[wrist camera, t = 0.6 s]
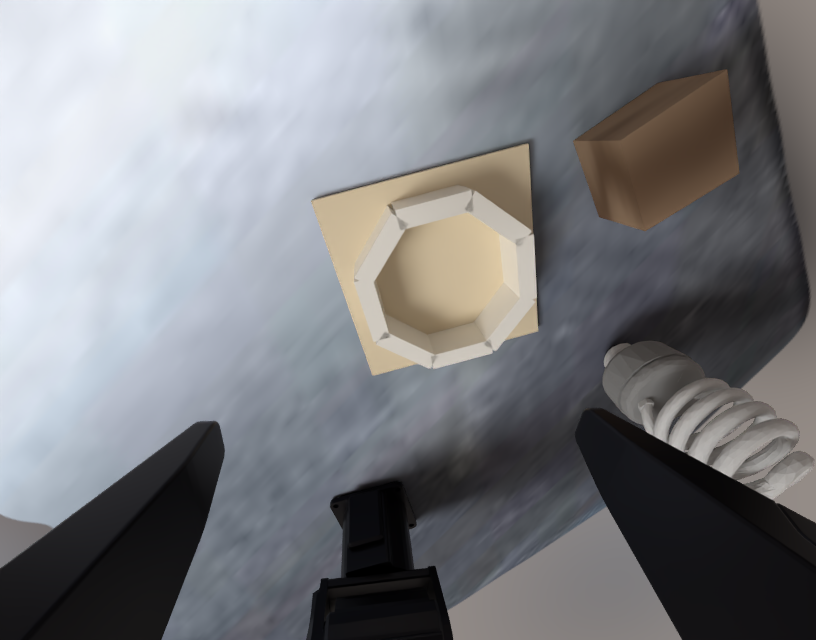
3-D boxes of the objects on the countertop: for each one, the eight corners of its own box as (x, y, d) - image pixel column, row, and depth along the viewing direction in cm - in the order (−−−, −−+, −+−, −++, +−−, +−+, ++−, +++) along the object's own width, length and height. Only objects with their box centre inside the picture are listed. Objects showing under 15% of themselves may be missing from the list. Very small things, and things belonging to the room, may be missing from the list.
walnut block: (673, 168, 20) (739, 173, 17) (597, 216, 21) (645, 231, 18) (656, 83, 18) (727, 69, 15) (571, 141, 19) (620, 140, 16)
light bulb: (581, 390, 28) (719, 542, 17) (572, 336, 25) (729, 476, 15) (647, 364, 27) (830, 503, 17) (646, 307, 25) (861, 429, 14)
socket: (534, 327, 24) (556, 350, 22) (372, 371, 24) (374, 399, 22) (524, 143, 19) (552, 143, 16) (311, 199, 18) (304, 209, 16)
